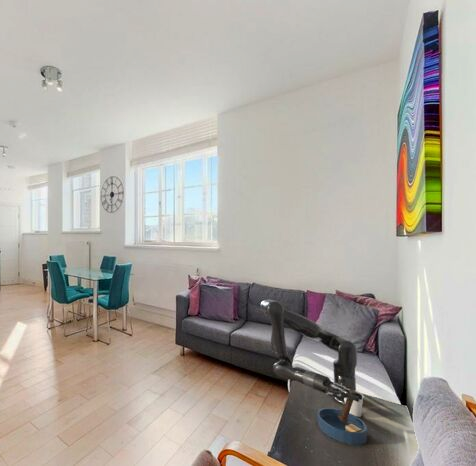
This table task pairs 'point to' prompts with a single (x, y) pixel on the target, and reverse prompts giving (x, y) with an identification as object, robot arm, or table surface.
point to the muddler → (346, 408)
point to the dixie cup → (356, 406)
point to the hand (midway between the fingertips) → (360, 398)
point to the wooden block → (352, 428)
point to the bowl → (341, 426)
